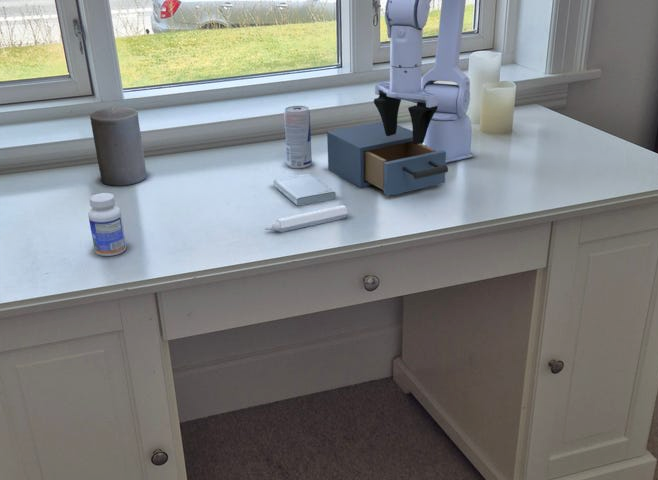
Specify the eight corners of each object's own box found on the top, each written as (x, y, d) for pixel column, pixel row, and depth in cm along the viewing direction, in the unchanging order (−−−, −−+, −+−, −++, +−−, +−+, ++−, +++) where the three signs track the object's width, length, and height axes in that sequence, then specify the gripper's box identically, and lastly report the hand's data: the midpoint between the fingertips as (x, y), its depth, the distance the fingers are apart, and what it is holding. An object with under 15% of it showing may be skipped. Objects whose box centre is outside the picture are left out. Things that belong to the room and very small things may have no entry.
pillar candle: (91, 183, 173) (78, 111, 165) (118, 169, 181) (106, 99, 173) (131, 188, 170) (119, 114, 162) (156, 173, 177) (146, 102, 170)
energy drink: (313, 160, 181) (310, 105, 174) (310, 168, 176) (308, 112, 170) (288, 161, 181) (285, 105, 175) (285, 168, 177) (282, 112, 170)
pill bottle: (97, 245, 145) (87, 192, 140) (128, 243, 145) (119, 190, 140) (92, 258, 140) (82, 203, 135) (125, 255, 140) (115, 201, 135)
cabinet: (421, 174, 171) (422, 135, 166) (360, 187, 165) (360, 147, 161) (386, 157, 181) (387, 120, 177) (328, 169, 175) (327, 131, 171)
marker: (264, 237, 147) (344, 219, 153) (268, 235, 145) (348, 216, 151) (260, 223, 147) (340, 205, 152) (264, 221, 145) (345, 202, 150)
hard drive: (335, 191, 159) (310, 172, 169) (296, 198, 157) (273, 178, 166) (336, 199, 160) (311, 180, 170) (296, 206, 158) (273, 186, 167)
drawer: (460, 190, 159) (462, 158, 156) (402, 204, 154) (402, 171, 151) (409, 166, 173) (410, 136, 169) (354, 178, 167) (353, 147, 164)
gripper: (362, 62, 153) (363, 135, 160) (418, 74, 143) (416, 151, 150) (390, 56, 156) (390, 128, 163) (446, 67, 147) (443, 143, 154)
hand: (404, 138), depth 157 cm, fingers open, 7 cm apart
